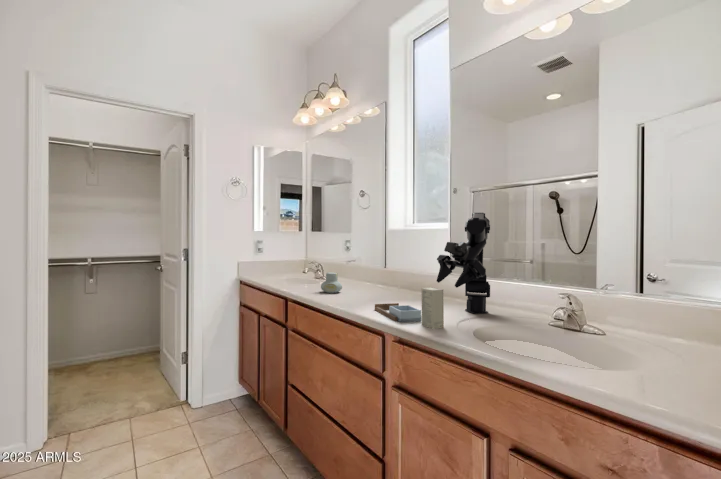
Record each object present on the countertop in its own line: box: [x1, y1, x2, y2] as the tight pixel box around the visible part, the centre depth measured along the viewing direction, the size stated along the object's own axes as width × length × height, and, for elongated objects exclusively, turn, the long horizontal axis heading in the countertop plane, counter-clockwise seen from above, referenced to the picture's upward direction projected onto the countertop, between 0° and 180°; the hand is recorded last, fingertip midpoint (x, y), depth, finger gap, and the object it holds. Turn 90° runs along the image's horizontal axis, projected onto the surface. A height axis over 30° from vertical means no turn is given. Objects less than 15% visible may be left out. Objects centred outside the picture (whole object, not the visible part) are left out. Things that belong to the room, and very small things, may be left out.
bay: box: [374, 302, 400, 322], centre depth 129 cm, size 10×20×2 cm, turn 18°
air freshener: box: [320, 272, 343, 294], centre depth 181 cm, size 11×8×10 cm
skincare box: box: [421, 287, 445, 330], centre depth 112 cm, size 6×4×12 cm
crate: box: [388, 304, 422, 323], centre depth 122 cm, size 8×10×4 cm
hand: (446, 284), depth 117 cm, fingers open, 9 cm apart
